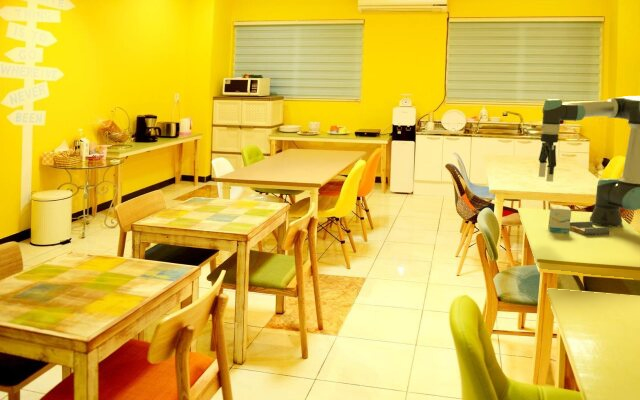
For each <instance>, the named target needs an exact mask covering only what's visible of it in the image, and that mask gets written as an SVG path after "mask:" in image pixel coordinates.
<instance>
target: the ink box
mask: <svg viewBox="0 0 640 400" xmlns="http://www.w3.org/2000/svg"><path fill="white" fill-rule="evenodd" d="M548 217H549V218H548V225H547V226H548V227H547V229H548V230H549V232H550V233H555V234H568V235H569V234H570V230H569V228H570V222H571V217H572V209H571V208H570V207H569V206H566V205H564V206H563V205H550V208H549V216H548Z"/></svg>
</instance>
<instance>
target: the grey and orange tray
mask: <svg viewBox="0 0 640 400" xmlns="http://www.w3.org/2000/svg"><path fill="white" fill-rule="evenodd" d="M569 231H572V232H575V233H577V234H580V235H582V236H586V237H588V236H609V235H610V231H611V226H603V227H602V226H601V227H595V226H593V222H592V221H590V220H589V221H570V228H569Z"/></svg>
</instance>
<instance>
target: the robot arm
mask: <svg viewBox="0 0 640 400" xmlns="http://www.w3.org/2000/svg"><path fill="white" fill-rule="evenodd" d="M541 111H542V112H541V113H542V125H541V126H540V128H541V133H540V142H541V148H540V153H539V157H538V161H539V170H538V177H539V178H545V177H546V182H549V183H550V182H554V174H555V167H557V155H556V154H557V153H556V152H557V151H556V149H557V146H556V145H555V144H554V143H558V142H559V136H560V135H559V133H560V125H561V124H560V123H561V121H574V122H576V121H578V122H579V121H582V120H584V118H593V117H607V118H610V119H623V120H628V122H627V124H628V126H629V127H630V131H629V138H628V141H627V149H626V154H625V160H624V164H623V165H624V166H623V171H622V176H621V177H620V178H600V179H599V180H598V181H597V185H596V192H595V195H596V197H595V205H594V208H593V211H592V213H591V215H590V217H589V221H592V222H593V224H594V225H599V226H603V227H621V226H622V225H623V218H622V214H621V208H623V209H624V210H631V211H637V210H639V209H640V95H628V96H621V97H620V96H619V97H610V98H608V99H606V100H591V101H590V100H587V101H569V102H567V101H566V102H563V101H562V99H554V98H553V99H551V98H549V99H545V100H544V103H543V107H542V110H541ZM546 168H547V169H546ZM546 171H547V173H546Z"/></svg>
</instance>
